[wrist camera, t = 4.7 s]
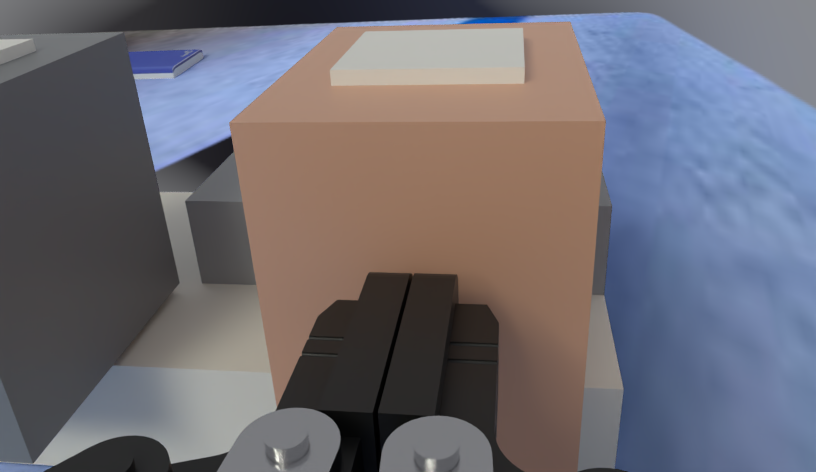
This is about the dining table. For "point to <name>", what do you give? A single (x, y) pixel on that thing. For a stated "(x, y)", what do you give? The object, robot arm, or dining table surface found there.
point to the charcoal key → (71, 228)
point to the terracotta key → (437, 198)
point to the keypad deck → (259, 346)
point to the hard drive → (162, 63)
